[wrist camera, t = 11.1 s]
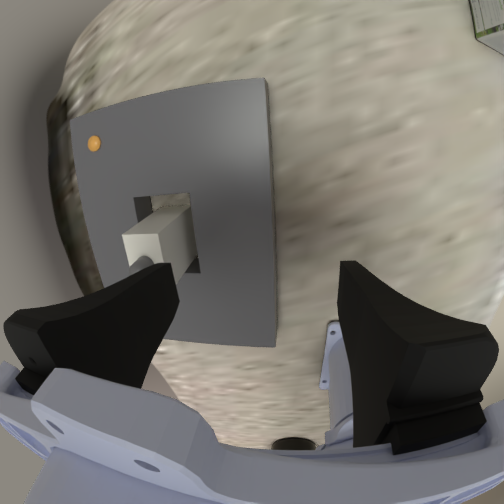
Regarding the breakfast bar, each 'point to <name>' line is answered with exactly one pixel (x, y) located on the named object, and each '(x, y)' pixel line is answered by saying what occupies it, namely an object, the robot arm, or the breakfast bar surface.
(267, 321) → the socket block
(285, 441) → the supplement bottle
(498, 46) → the syrup box
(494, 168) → the breakfast bar surface
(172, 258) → the plug
